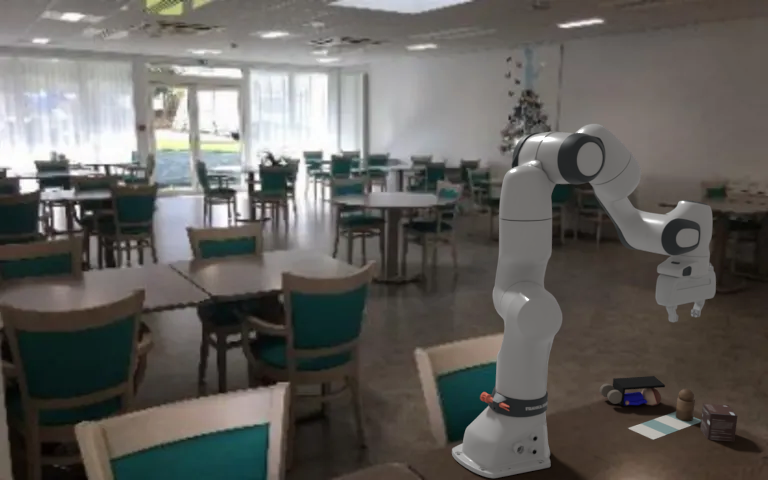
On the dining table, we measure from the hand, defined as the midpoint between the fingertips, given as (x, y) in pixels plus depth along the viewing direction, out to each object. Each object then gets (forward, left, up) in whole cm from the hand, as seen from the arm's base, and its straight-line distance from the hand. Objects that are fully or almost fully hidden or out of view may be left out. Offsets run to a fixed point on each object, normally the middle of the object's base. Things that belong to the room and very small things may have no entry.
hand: (684, 319), depth 168 cm
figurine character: (-6, +9, -25) cm, 28 cm away
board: (-10, -4, -25) cm, 27 cm away
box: (-5, -14, -25) cm, 29 cm away
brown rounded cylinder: (-3, -4, -24) cm, 25 cm away
